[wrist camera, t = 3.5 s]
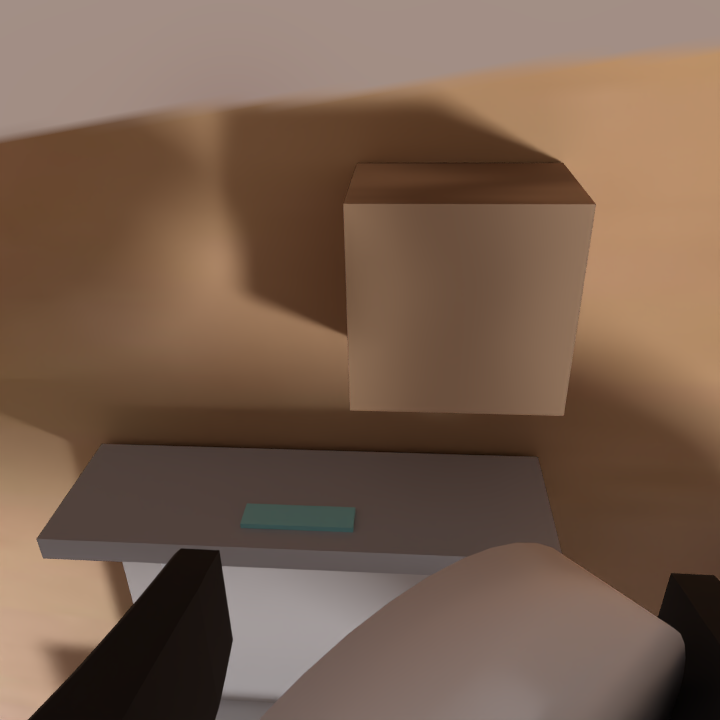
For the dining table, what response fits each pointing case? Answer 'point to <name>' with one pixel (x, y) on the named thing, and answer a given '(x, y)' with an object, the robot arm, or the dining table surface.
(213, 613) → the robot arm
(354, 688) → the disc
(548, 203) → the pedestal
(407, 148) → the dining table surface
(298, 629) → the grey shallow open box
